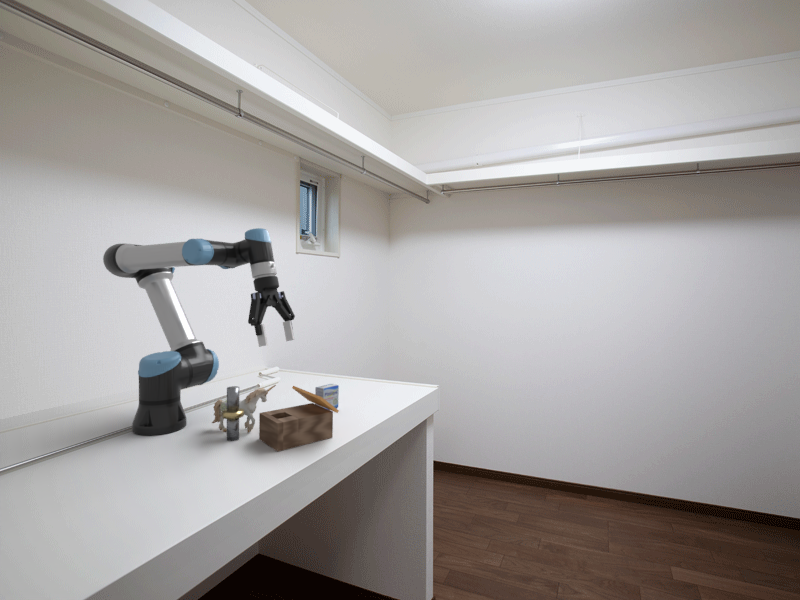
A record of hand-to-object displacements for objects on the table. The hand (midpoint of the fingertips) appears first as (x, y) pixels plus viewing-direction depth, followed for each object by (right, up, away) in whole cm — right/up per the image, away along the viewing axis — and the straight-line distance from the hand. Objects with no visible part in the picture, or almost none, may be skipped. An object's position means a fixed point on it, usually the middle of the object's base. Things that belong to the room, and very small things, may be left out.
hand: (277, 343), depth 140 cm
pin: (-11, -28, -8) cm, 31 cm away
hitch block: (+7, -28, -6) cm, 30 cm away
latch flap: (+12, -17, -3) cm, 21 cm away
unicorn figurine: (-11, -28, +3) cm, 30 cm away
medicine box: (+11, -27, +26) cm, 39 cm away
